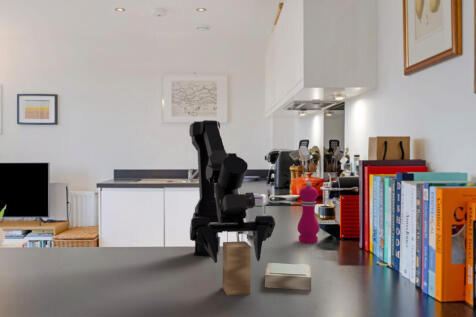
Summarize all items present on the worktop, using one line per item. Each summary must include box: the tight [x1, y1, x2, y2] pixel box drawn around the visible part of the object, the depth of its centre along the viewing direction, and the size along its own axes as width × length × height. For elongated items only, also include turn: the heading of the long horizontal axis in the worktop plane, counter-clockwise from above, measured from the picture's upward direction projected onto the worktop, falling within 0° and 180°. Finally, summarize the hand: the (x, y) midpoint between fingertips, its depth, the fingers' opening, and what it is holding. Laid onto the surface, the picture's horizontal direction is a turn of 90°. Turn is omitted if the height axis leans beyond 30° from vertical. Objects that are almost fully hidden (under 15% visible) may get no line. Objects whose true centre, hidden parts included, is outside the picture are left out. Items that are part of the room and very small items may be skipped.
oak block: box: [221, 240, 252, 296], centre depth 90 cm, size 5×5×10 cm
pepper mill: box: [297, 181, 320, 244], centre depth 140 cm, size 7×7×20 cm
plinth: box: [264, 262, 312, 291], centre depth 96 cm, size 10×10×3 cm
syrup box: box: [247, 193, 267, 237], centre depth 150 cm, size 6×6×14 cm
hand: (237, 261), depth 89 cm, fingers open, 9 cm apart
